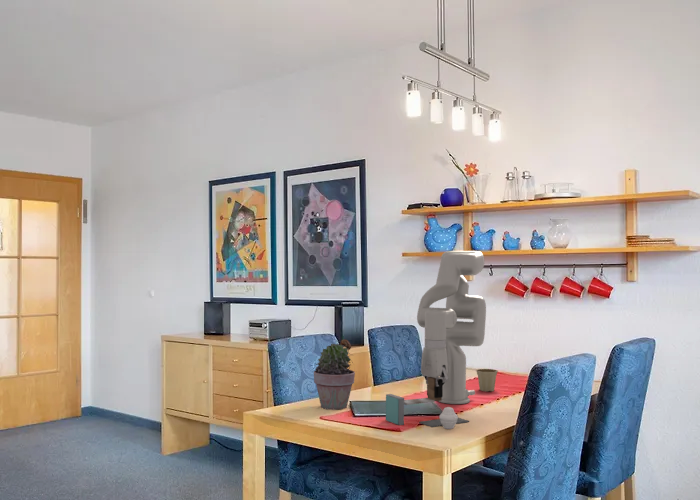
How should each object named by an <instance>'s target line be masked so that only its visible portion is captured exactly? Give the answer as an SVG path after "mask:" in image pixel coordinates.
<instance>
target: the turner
mask: <svg viewBox="0 0 700 500" xmlns="http://www.w3.org/2000/svg"><path fill="white" fill-rule="evenodd" d="M439 380H440V379H439ZM435 386H436V383H435V378H432V377H428V396H427V397H424V398H423V397H422V398H414V399H413V398H412V399H404V406H405V405H406V406H408V405H409V406H410V405H417V404H425V403H434V402H439V401H442V397H441V398H435V397H434V393H435Z"/></svg>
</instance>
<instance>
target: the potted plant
mask: <svg viewBox="0 0 700 500" xmlns="http://www.w3.org/2000/svg"><path fill="white" fill-rule="evenodd" d="M344 347H345V348H344ZM351 349H352V345H351V343H350V341H349V340H348V339H341V341H340V342H339V343H334V342H331V343H330V345H326V348H323V349H322V351H321V352H320V354H321V355H320V357H319V358H318V360H315V361H316V362H317V361H318V362H317V363H316V364H315V366H316V367H315V369H314V370H313V381H314V384H315V385H316V386H315V387H316V390H317V394H318V399H319V403H320V408H322V409H325V410H333V411H335V410H337V411H338V410H344V409H347V407H348V403H349V399H350V396H351V391H352V386H353V384H355V376H356V371H354V370H352V369H351V366H352V364H354V363H353V361H352V360H351V358H350V357H351V356H353V354H352V353H350V352H349V351H350V350H351ZM350 361H351V362H352V364H351V362H350Z"/></svg>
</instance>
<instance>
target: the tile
mask: <svg viewBox="0 0 700 500" xmlns="http://www.w3.org/2000/svg"><path fill="white" fill-rule="evenodd" d="M404 400H405V397H402V396H399V395H396V394H393V393H389V394H388V393H386V394H385V421H386V422H389V423H392V424H394V425H398V426H404V425H405V404H404Z"/></svg>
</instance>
